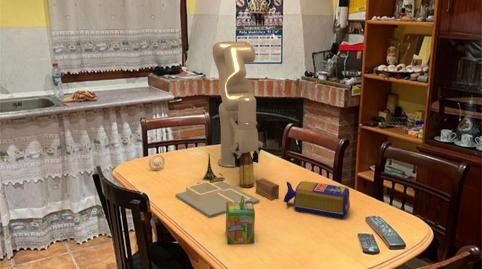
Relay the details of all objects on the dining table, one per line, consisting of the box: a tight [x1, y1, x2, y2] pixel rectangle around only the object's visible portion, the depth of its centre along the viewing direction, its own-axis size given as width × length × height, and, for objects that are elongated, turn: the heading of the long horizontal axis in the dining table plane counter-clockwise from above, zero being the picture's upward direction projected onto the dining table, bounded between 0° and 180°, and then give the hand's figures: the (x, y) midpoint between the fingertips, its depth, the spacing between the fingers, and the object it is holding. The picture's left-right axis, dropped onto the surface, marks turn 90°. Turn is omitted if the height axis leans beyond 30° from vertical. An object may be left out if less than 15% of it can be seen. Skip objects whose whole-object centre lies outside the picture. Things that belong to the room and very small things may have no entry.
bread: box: [283, 180, 351, 220], centre depth 178 cm, size 10×25×10 cm, turn 67°
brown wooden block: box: [255, 177, 280, 202], centre depth 192 cm, size 4×10×6 cm, turn 37°
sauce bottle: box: [238, 152, 255, 189], centre depth 200 cm, size 6×6×20 cm
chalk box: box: [225, 195, 256, 245], centre depth 155 cm, size 9×9×15 cm
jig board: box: [175, 181, 260, 219], centre depth 187 cm, size 24×25×4 cm
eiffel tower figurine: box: [196, 153, 226, 184], centre depth 209 cm, size 15×10×13 cm
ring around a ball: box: [148, 153, 166, 171], centre depth 220 cm, size 8×6×8 cm
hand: (246, 164), depth 200 cm, fingers open, 9 cm apart
